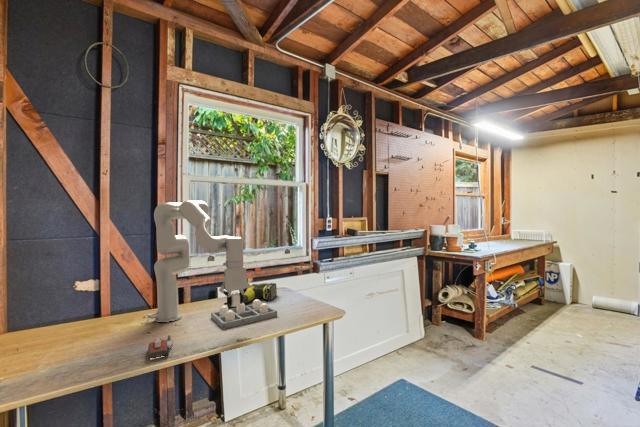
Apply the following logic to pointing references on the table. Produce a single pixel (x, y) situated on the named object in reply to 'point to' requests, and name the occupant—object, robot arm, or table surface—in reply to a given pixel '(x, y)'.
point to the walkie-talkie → (160, 347)
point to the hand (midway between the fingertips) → (235, 303)
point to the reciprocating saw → (258, 292)
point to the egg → (235, 299)
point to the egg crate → (243, 314)
